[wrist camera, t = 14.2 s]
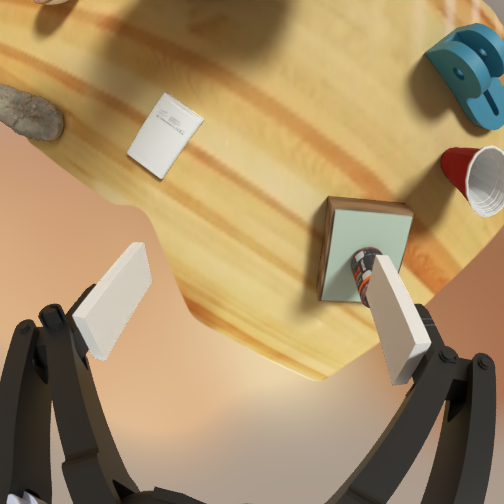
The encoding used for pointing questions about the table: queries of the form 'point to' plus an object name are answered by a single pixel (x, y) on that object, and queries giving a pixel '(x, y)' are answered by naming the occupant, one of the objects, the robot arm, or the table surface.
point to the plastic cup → (477, 176)
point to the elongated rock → (30, 114)
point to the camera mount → (473, 72)
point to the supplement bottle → (363, 270)
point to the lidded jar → (49, 1)
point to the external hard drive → (164, 135)
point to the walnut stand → (358, 241)
